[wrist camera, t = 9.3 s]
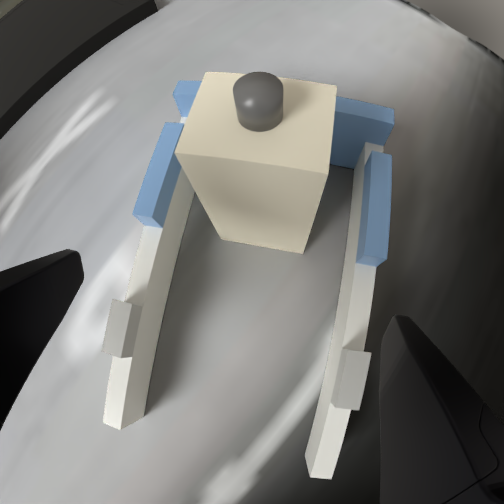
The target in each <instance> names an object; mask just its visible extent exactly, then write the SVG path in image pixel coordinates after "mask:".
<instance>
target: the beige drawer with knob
mask: <svg viewBox="0 0 504 504" xmlns="http://www.w3.org/2000/svg"><path fill="white" fill-rule="evenodd" d="M336 90H337V86H333V85H328V84H322V83H316V82H310V81H303V80H296V79H289V78H281V77H276V76H274V75H272V74H270V73H266V72H252V73H248V74H239V73H223V72H206V73H205V75H204V78H203V80H202V82H201V85H200V87H199V90H198V92H197V94H196V97H195V99H194V102H193V104H192V107H191V109H190V112H189V115H188V117H187V120H186V122H185V125H184V128H183V130H182V133H181V136H180V138H179V141H178V144H177V147H176V149H175V152H174V153H175V155H176V157H177V159H178V161H179V163H180V164H181V166H182V168H183V170H184V172H185V174H186V176H187V177H188V179H189V181H190V183H191V185H192V187H193V189H194V190H195V192H196V194H197V196H198V198H199V200H200V201H201V203H202V205H203V207H204V209H205V211H206V212H207V214H208V216H209V218H210V220H211V222H212V223H213V225H214V227H215V229H216V231H217V233H218V234H219V236H220V238H221V240H227V241H233V242H238V243H244V244H250V245H255V246H261V247H266V248H272V249H277V250H283V251H289V252H294V253H300V254H303V252H304V249H305V246H306V243H307V240H308V237H309V234H310V231H311V228H312V225H313V222H314V219H315V215H316V212H317V209H318V206H319V203H320V200H321V196H322V193H323V190H324V187H325V183H326V180H327V177H328V172H329V163H330V154H331V145H332V135H333V125H334V114H335V103H336Z"/></svg>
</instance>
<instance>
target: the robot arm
mask: <svg viewBox="0 0 504 504" xmlns="http://www.w3.org/2000/svg"><path fill="white" fill-rule="evenodd" d="M83 280H84V271H83V267H82V261H81V256H80V254H79V252H77V251H74V250H70V249H66V250H63V251H60V252H56V253H53V254H50V255H47V256H44V257H41V258H38V259H35V260H32V261H29V262H26V263H24V264H21V265H18V266H15V267H12V268H9V269H6V270H4V271H1V272H0V431H1V428H2V426H3V424H4V422H5V420H6V418H7V416H8V414H9V412H10V410H11V408H12V406H13V404H14V402H15V400H16V398H17V396H18V394H19V393H20V391H21V389H22V387H23V385H24V383H25V382H26V380H27V378H28V376H29V374H30V373H31V371H32V369H33V367H34V366H35V364H36V362H37V361H38V359H39V357H40V355H41V354H42V352H43V350H44V349H45V347H46V346H47V344H48V342H49V341H50V339H51V337H52V336H53V334H54V333H55V331H56V329H57V328H58V326H59V325H60V323H61V321H62V320H63V318H64V316H65V314H66V312H67V310H68V309H69V307H70V305H71V303H72V301H73V299H74V297H75V295H76V294H77V292H78V290H79V288H80V286H81V285H82V283H83ZM379 405H380V432H381V482H380V504H504V425H503V424H502V423H501V422H500V421H499V419H498V418H497V417H496V416H495V415H494V413H493V412H492V411H491V410H490V408H489V407H488V406H487V405H486V404H485V403H484V404H483V400H482V399H481V398H480V396H479V395H478V394H477V393H476V392H475V390H474V389H473V388H472V387H471V386H470V384H469V383H468V382H467V381H466V380H465V379H464V377H463V376H462V375H461V374H460V373H459V372H458V371H457V369H456V368H455V367H454V366H453V365H452V364H451V363H450V361H449V360H448V359H447V358H446V357H445V356H444V355H443V354H442V352H441V351H440V350H439V349H438V348H437V347H436V346H435V345H434V344H433V342H432V341H431V340H430V339H429V338H428V337H427V336H426V335H425V334H424V333H423V331H422V330H421V329H420V328H419V327H418V326H417V325H416V324H415V323H414V322H413V321H412V320H411V319H410V318H409V317H408V316H402V315H394V316H393V317H392V319H391V321H390V323H389V325H388V327H387V330H386V332H385V334H384V336H383V339H382V343H381V366H380V386H379Z"/></svg>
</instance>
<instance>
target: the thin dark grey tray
mask: <svg viewBox="0 0 504 504" xmlns="http://www.w3.org/2000/svg"><path fill="white" fill-rule="evenodd" d="M157 11H158V10H157V7H156V4H155V2H154V0H23V1H21V2H20V3H19V4H18V5H16V6H15V7H14V8H13V9H12V10H10V11H9V12H8V13H7V14H6V15H4V16H3V17H2V18H1V19H0V139H1V138H2V137H3V136H4V135H5V134H6V133H7V132H8V130H9V129H10V128H11V127H12V126H13V125H14V124H15V123H16V122H17V121H18V120H19V119H20V118H21V117H22V116H23V115H24V114H25V113H26V112H27V111H28V110H29V109H30V108H31V107H32V106H33V105H34V104H35V103H36V102H37V101H38V100H39V99H40V98H41V97H42V96H43V95H44V94H45V93H46V92H48V91H49V90H50V89H51V88H52V87H53V86H54V85H55V84H57V83H58V82H59V81H60V80H61V79H62V78H63V77H65V76H66V75H67V74H68V73H69V72H71V71H72V70H73V69H74V68H76V67H77V66H78V65H79V64H81V63H82V62H83V61H84V60H86V59H87V58H88V57H90V56H91V55H92V54H93V53H95V52H96V51H98V50H99V49H100V48H102V47H103V46H104V45H106V44H107V43H109V42H110V41H111V40H113V39H114V38H116V37H117V36H119V35H120V34H122V33H123V32H125V31H126V30H128V29H129V28H131V27H133V26H134V25H136V24H137V23H139V22H140V21H142V20H144V19H145V18H147V17H149V16H150V15H152V14H154V13H156V12H157Z"/></svg>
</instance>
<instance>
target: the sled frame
mask: <svg viewBox="0 0 504 504" xmlns="http://www.w3.org/2000/svg"><path fill="white" fill-rule="evenodd" d="M201 82H202V81H178V83H177V85H176V87H175V90H174V92H173V97H174V99H175V102H176V104H177V106H178V109H179V111H180V114H181V116H182V118H181V120H180V123H169V122H165V125H164V127H163V130H162V132H161V135H160V137H159V140H158V142H157V145H156V148H155V150H154V153H153V156H152V158H151V161H150V164H149V166H148V169H147V172H146V175H145V178H144V180H143V183H142V186H141V189H140V192H139V195H138V198H137V201H136V204H135V207H134V210H133V215H134V216H135V217H136V218H137V219H138V220H139V221H140V222H141V223H143V224H144V229H143V232H142V235H141V239H140V243H139V246H138V250H137V253H136V257H135V261H134V265H133V268H132V272H131V276H130V280H129V284H128V288H127V293H126V297H125V301H124V302H123V301H119V300H115V299H112V303H111V308H110V312H109V317H108V322H107V326H106V331H105V336H104V341H103V347H102V352H104V353H107V354H110V355H113V359H112V365H111V370H110V376H109V382H108V389H107V395H106V402H105V410H104V417H103V423H105V424H107V425H110V426H112V427H114V428H117V429H119V430H121V429H123V428H125V427H127V426H128V425H130V424H132V423H134V422H136V421H138V420H139V419H141V418H143V417H144V412H145V406H146V400H147V394H148V389H149V383H150V378H151V373H152V367H153V362H154V357H155V352H156V347H157V342H158V337H159V333H160V328H161V323H162V319H163V314H164V310H165V305H166V301H167V297H168V292H169V288H170V284H171V280H172V276H173V272H174V268H175V264H176V260H177V256H178V252H179V248H180V244H181V240H182V236H183V233H184V229H185V225H186V222H187V218H188V214H189V211H190V207H191V204H192V200H193V197H194V193H195V190H194V189H193V187H192V185H191V183H190V181H189V179H188V177H187V176H186V174H185V172H184V170H183V168H182V166H181V164H180V163H179V161H178V159H177V157H176V155H175V153H174V152H175V149H176V147H177V144H178V141H179V138H180V136H181V133H182V130H183V128H184V125H185V122H186V120H187V117H188V115H189V112H190V109H191V107H192V104H193V102H194V99H195V97H196V94H197V92H198V90H199V87H200V85H201ZM393 126H394V109H391V108H387V107H383V106H379V105H375V104H371V103H366V102H362V101H357V100H353V99H348V98H343V97H338V96H336V103H335V114H334V125H333V135H332V145H331V154H330V163H329V164H331V165H337V166H342V167H347V168H352V169H354V177H353V189H352V200H351V210H350V219H349V228H348V236H347V245H346V252H345V260H344V267H343V274H342V281H341V287H340V294H339V300H338V306H337V312H336V318H335V324H334V329H333V334H332V340H331V345H330V350H329V355H328V360H327V365H326V370H325V374H324V379H323V384H322V388H321V393H320V397H319V401H318V405H317V410H316V414H315V418H314V422H313V426H312V430H311V434H310V437H309V441H308V445H307V449H306V452H305V459H306V463H307V467H308V471H309V475H310V477H313V478H323V479H332V476H333V472H334V469H335V466H336V463H337V459H338V456H339V453H340V449H341V446H342V442H343V439H344V435H345V431H346V427H347V424H348V420H349V416H350V412H351V410H359V408H360V404H361V400H362V396H363V391H364V387H365V382H366V378H367V373H368V368H369V363H370V358H371V353H369V352H364V347H365V341H366V336H367V330H368V324H369V318H370V311H371V304H372V297H373V290H374V282H375V274H376V267H377V266H378V265H380V264H381V263H382V262H384V261H385V260H386V259H387V253H388V241H389V228H390V211H391V187H392V155H389V154H385V153H384V144H385V142H386V140H387V138H388V136H389V134H390V132H391V130H392V128H393Z"/></svg>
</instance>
